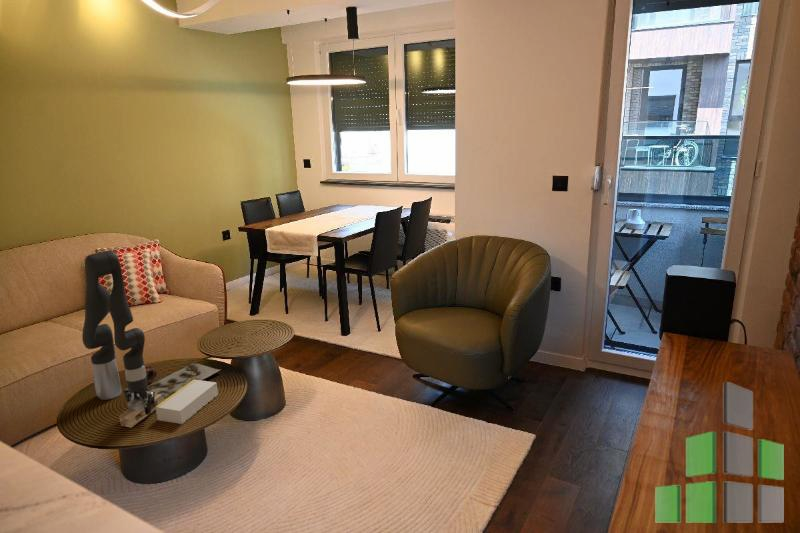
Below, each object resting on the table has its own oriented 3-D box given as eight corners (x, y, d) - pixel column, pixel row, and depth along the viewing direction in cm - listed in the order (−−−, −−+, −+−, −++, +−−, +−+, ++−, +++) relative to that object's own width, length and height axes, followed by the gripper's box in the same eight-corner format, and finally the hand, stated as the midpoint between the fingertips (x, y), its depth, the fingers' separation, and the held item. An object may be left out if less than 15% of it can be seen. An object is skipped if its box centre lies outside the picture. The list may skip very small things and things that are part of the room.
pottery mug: (130, 386, 236) (130, 368, 238) (146, 385, 244) (146, 368, 246) (149, 382, 232) (149, 364, 234) (165, 382, 241) (165, 364, 243)
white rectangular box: (157, 420, 206) (155, 406, 204) (195, 391, 228) (193, 379, 227) (182, 424, 203) (180, 410, 201) (218, 394, 225) (216, 382, 223)
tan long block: (121, 425, 201) (119, 415, 200) (153, 402, 218) (151, 393, 217) (131, 427, 200) (129, 417, 199) (162, 404, 217) (161, 394, 216)
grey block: (128, 410, 204) (127, 403, 203) (136, 404, 208) (135, 397, 208) (137, 411, 203) (136, 404, 202) (145, 405, 207) (144, 398, 206)
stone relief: (136, 394, 228) (163, 404, 218) (135, 388, 227) (162, 398, 217) (196, 365, 255) (223, 373, 245) (195, 360, 254) (222, 368, 244)
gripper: (114, 378, 203) (121, 415, 207) (143, 382, 199) (150, 420, 204) (129, 370, 210) (135, 406, 214) (157, 374, 206) (163, 410, 211)
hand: (142, 412), depth 209 cm, fingers closed on tan long block, 5 cm apart
